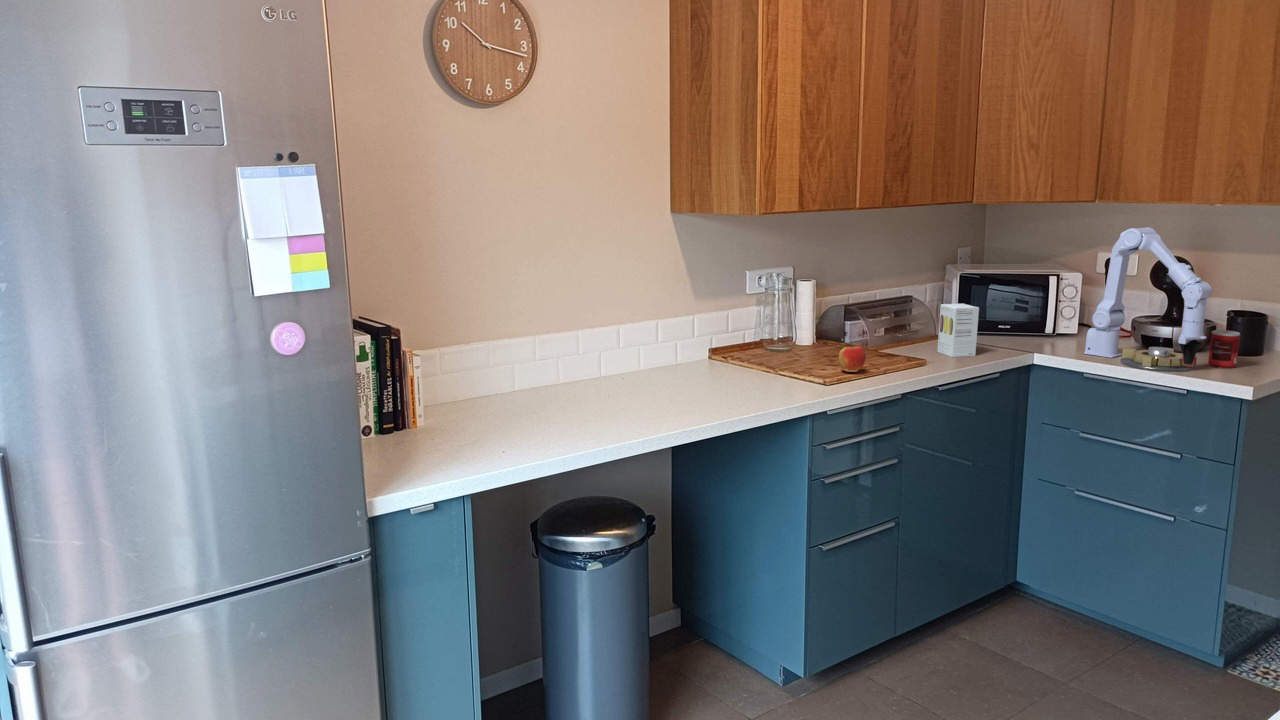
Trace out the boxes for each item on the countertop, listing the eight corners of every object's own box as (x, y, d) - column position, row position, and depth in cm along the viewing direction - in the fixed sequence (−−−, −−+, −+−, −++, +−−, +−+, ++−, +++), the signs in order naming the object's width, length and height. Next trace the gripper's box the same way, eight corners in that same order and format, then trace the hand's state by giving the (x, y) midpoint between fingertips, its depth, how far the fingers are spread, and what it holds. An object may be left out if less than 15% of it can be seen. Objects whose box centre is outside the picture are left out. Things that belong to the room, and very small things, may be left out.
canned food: (1227, 363, 294) (1232, 330, 292) (1241, 368, 286) (1245, 334, 284) (1202, 363, 295) (1206, 329, 292) (1215, 368, 287) (1219, 334, 285)
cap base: (1109, 364, 294) (1111, 348, 293) (1139, 355, 308) (1141, 339, 307) (1180, 374, 278) (1182, 357, 277) (1208, 364, 292) (1210, 348, 291)
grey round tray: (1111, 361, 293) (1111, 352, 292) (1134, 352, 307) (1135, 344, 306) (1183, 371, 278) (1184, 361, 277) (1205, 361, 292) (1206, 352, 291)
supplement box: (936, 352, 315) (939, 303, 311) (959, 350, 317) (963, 302, 314) (952, 357, 306) (955, 307, 302) (976, 356, 308) (979, 306, 305)
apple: (845, 376, 279) (846, 344, 276) (833, 370, 286) (835, 339, 284) (869, 374, 280) (870, 342, 278) (857, 369, 288) (858, 338, 286)
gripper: (1198, 325, 275) (1193, 369, 277) (1216, 320, 284) (1211, 362, 287) (1173, 322, 280) (1168, 365, 283) (1191, 317, 289) (1186, 359, 292)
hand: (1188, 363), depth 285 cm, fingers closed, pressing on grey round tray
